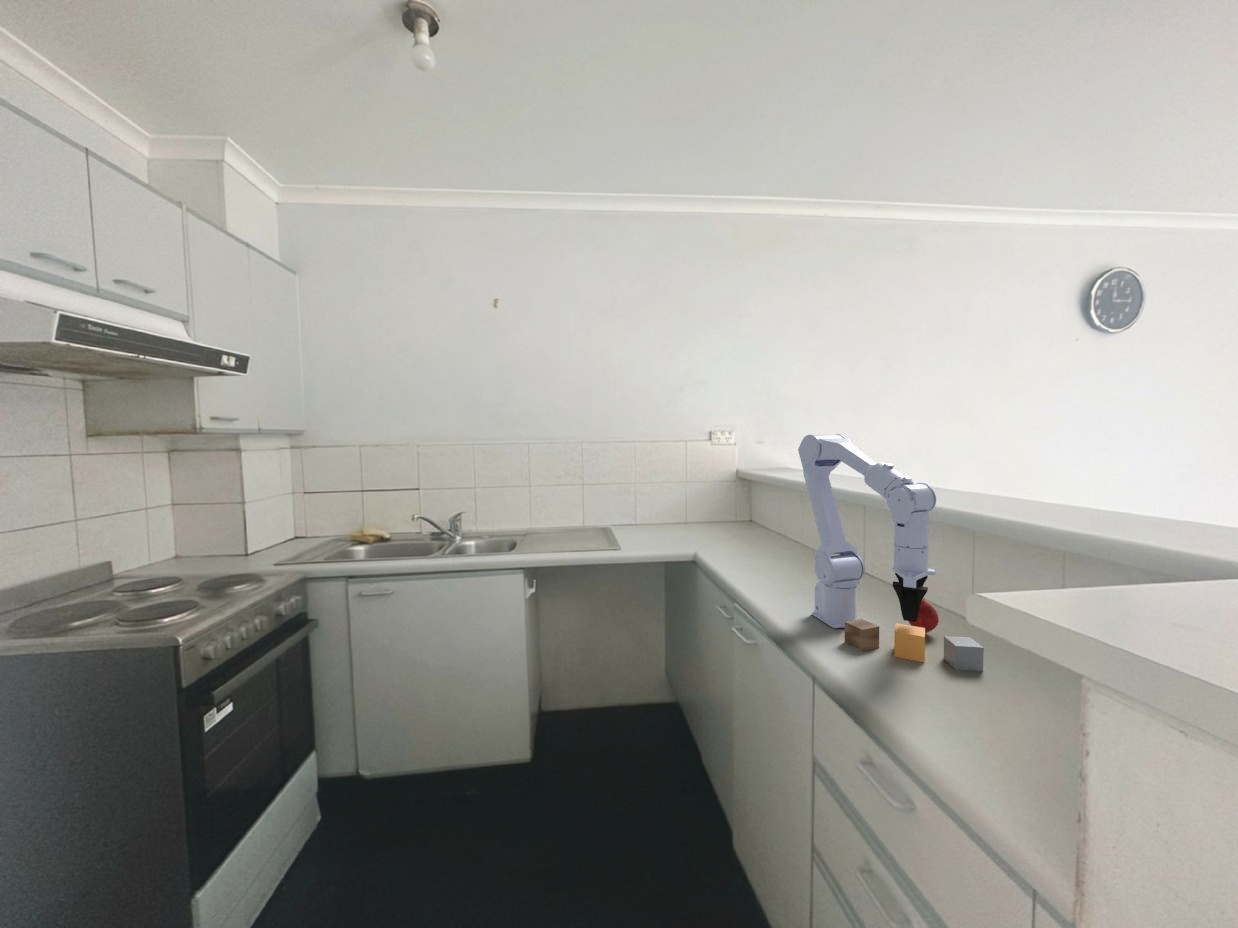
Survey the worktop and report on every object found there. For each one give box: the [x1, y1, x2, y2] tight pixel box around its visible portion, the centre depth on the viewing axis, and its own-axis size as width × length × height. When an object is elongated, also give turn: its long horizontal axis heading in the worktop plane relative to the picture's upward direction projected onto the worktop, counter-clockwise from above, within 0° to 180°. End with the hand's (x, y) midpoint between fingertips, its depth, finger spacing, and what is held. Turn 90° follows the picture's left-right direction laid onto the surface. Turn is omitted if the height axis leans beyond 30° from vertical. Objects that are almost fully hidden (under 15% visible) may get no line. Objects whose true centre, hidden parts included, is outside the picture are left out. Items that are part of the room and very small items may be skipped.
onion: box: [908, 596, 940, 634], centre depth 103 cm, size 6×6×8 cm
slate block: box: [943, 635, 985, 672], centre depth 89 cm, size 4×4×4 cm
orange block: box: [893, 622, 926, 663], centre depth 93 cm, size 5×5×5 cm
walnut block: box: [844, 618, 880, 652], centre depth 98 cm, size 4×4×4 cm
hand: (910, 614), depth 93 cm, fingers open, 7 cm apart
